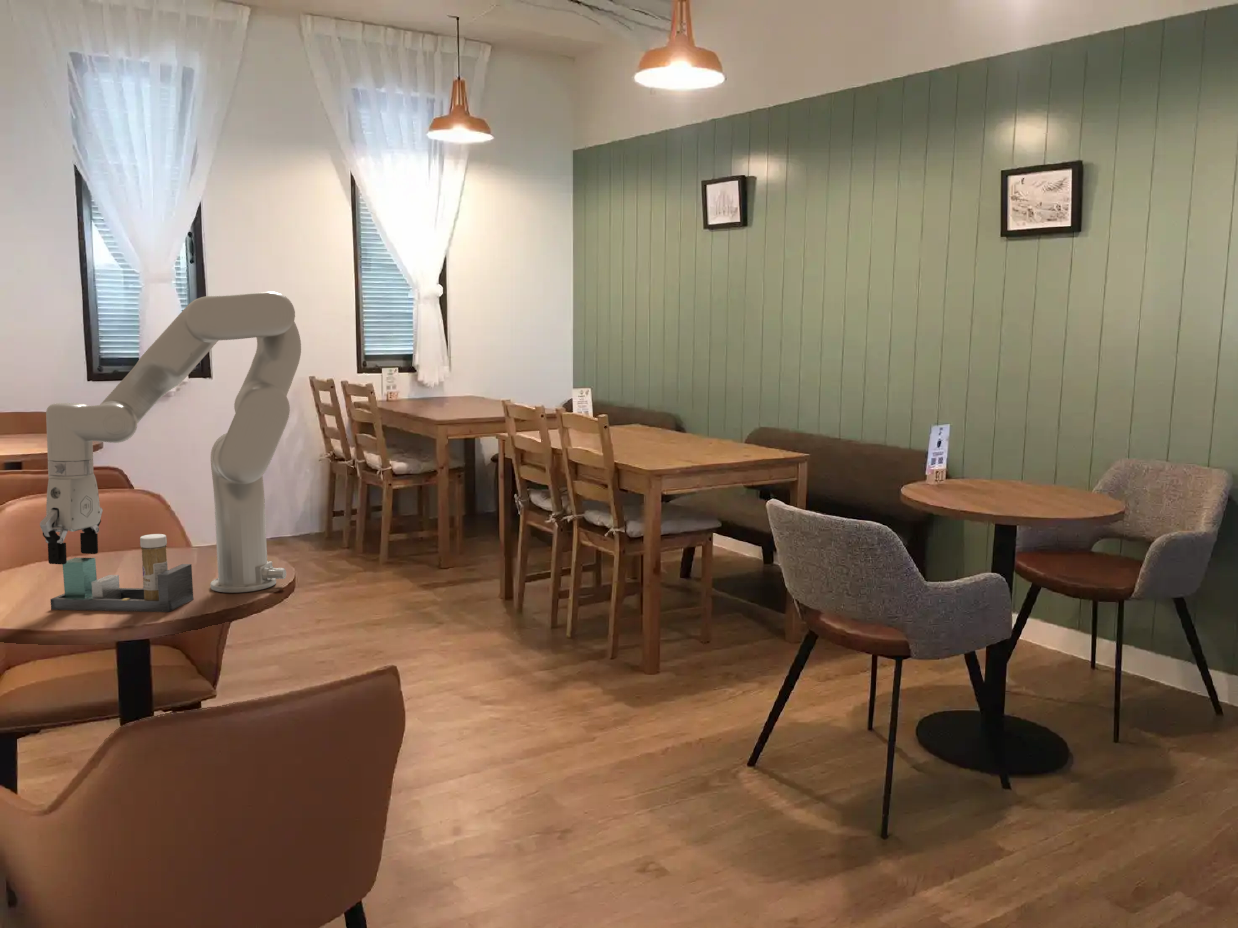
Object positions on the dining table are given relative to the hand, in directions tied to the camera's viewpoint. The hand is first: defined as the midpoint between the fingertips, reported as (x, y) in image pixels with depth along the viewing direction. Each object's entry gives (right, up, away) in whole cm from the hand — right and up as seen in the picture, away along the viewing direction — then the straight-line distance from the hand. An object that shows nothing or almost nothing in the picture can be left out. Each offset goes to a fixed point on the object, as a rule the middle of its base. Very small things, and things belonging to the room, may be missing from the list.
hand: (73, 558), depth 191 cm
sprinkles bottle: (+16, -9, 0) cm, 18 cm away
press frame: (+9, -9, +1) cm, 13 cm away
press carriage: (+3, -9, +1) cm, 9 cm away
